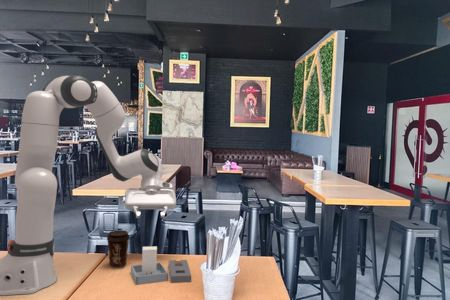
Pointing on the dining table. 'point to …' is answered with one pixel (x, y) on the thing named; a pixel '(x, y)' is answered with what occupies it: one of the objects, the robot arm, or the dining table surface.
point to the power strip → (179, 271)
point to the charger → (149, 259)
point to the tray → (156, 276)
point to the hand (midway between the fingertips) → (150, 217)
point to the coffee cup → (117, 248)
